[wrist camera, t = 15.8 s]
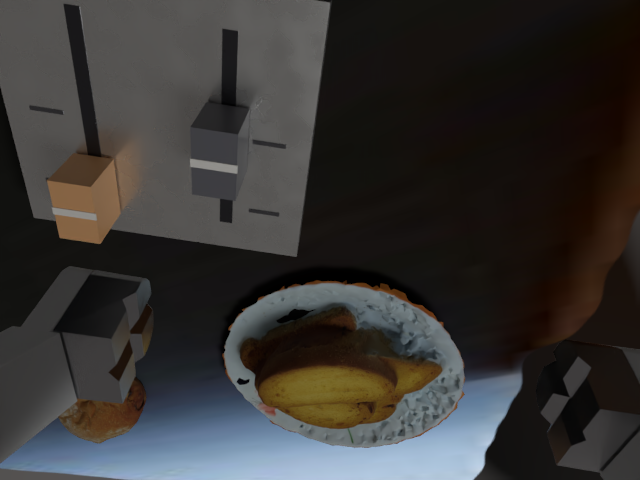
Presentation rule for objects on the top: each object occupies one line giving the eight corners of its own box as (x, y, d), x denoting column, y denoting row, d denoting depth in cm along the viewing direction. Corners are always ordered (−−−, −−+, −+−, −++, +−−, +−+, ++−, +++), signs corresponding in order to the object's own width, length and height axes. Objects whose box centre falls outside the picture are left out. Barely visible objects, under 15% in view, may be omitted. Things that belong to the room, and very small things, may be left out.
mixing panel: (-7, -63, 33) (-37, -56, 30) (333, -9, 33) (330, 2, 31) (51, 198, 45) (33, 218, 43) (300, 235, 45) (296, 257, 43)
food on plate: (336, 448, 66) (333, 499, 61) (181, 347, 57) (161, 398, 51) (511, 368, 54) (526, 423, 49) (351, 223, 45) (348, 273, 39)
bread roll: (71, 351, 64) (26, 411, 59) (99, 349, 56) (50, 417, 52) (135, 392, 68) (97, 450, 64) (169, 395, 60) (129, 462, 56)
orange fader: (72, 152, 38) (45, 180, 35) (114, 159, 38) (91, 187, 35) (82, 207, 41) (58, 238, 38) (121, 213, 41) (100, 244, 38)
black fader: (205, 101, 35) (189, 127, 32) (250, 108, 35) (238, 134, 32) (206, 165, 38) (190, 194, 35) (247, 172, 38) (236, 201, 35)
